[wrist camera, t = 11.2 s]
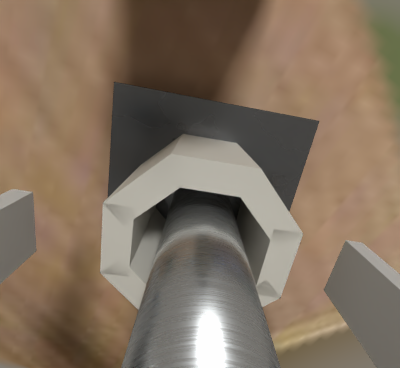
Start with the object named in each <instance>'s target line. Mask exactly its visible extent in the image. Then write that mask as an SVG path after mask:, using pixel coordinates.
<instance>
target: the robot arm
mask: <svg viewBox="0 0 400 368" xmlns="http://www.w3.org/2000/svg"><path fill="white" fill-rule="evenodd" d="M34 252H36V236H35V219H34V202H33V192H29V191H23V190H16V189H11V190H9V191H7V192H5V193H3V194H1V195H0V284H1V283H2V282H3V281H4V280H5V279H6V278H7V277H8V276H9V275H10V274H12V273H13V272H14V271H15V270H16V269H17V268H18V267H19V266H20V265H21V264H22V263H24V262H25V261H26V260H27V259H28V258H29V257H30V256H31V255H32V254H33V253H34ZM324 291H325V293H326V294H327V296H328V297H329V298H330V300H331V301H332V303H333V304H334V306H335V307H336V309H337V310H338V312H339V313H340V315H341V316H342V317H343V319H344V320H345V322H346V323H347V325H348V326H349V328H350V329H351V331H352V332H353V334H354V335H355V336H356V338H357V339H358V341H359V342H360V344H361V345H362V347H363V348H364V350H365V351H366V352H367V354H368V355H369V357H370V358H371V360H372V361H373V363H374V364H375V366H376V367H377V368H400V274H399V273H398V272H397V271H395V270H394V269H393V268H392V267H391V266H389V265H388V264H387V263H386V262H385V261H383V260H382V259H381V258H380V257H379V256H377V255H376V254H375V253H374V252H373V251H371V250H370V249H369V248H368V247H367V246H365V245H364V244H363V243H360V242H354V241H347V240H346V241H345V243H344V245H343V248H342V250H341V252H340V254H339V257H338V259H337V261H336V263H335V266H334V268H333V270H332V273H331V275H330V277H329V279H328V282H327V284H326V286H325V288H324Z"/></svg>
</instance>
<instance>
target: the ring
mask: <svg viewBox="0 0 400 368" xmlns="http://www.w3.org/2000/svg"><path fill="white" fill-rule="evenodd" d="M179 188H186V189H193V190H199V191H205V192H211V193H218V194H224V195H230V196H236V197H241V203H240V207H239V212H238V216H237V220H236V223H237V226H238V230H239V233H240V236H241V240H242V243H243V246H244V249H245V253H246V256H247V259H248V263H249V266H250V269H251V272H252V276H253V279H254V282H255V286H256V289H257V292H258V296H259V299H260V302H261V305H262V307H263V306H265V305H267V304H269V303H271V302H273V301H275V300H277V299H279V298H281V294H282V292H283V289H284V286H285V283H286V280H287V278H288V275H289V272H290V269H291V266H292V264H293V261H294V258H295V255H296V252H297V250H298V247H299V244H300V241H301V238H302V236H303V233H302V231H301V230H300V228H299V227H298V225H297V224H296V222H295V220H294V219H293V217H292V216H291V214H290V213H289V211H288V210H287V208H286V206H285V205H284V203H283V202H282V200H281V199H280V197H279V196H278V194H277V193H276V191H275V189H274V188H273V186H272V185H271V183H270V182H269V180H268V179H267V177H266V175H265V174H264V172H263V171H262V169H261V168H260V167H259V166H258V165H257V164H256V163H255V161H254V160H253V159H252V158H251V157H250V156H249V155H248V154H247V153H246V152H245V151H244V150H243V149H242V148H241V147H240V146H239V145H238V144H237V143H234V142H228V141H222V140H216V139H210V138H205V137H199V136H193V135H187V134H182V135H181V136H180V137H178V138H177V139H175V140H174V141H173V142H171V143H170V144H169V145H167V146H166V147H165V148H163V149H162V150H160V151H159V152H158V153H156V154H155V155H154V156H152V157H151V158H150V159H148V160H147V161H145V162H144V163H143V164H141V165H140V166H139V167H138V168H137V169H136V170H135V171H134V172H133V173H132V174H131V175H130V176H129V177H128V178H127V179H126V180H125V181H124V182H123V183H122V184H121V185H120V186H119V187H118V188H117V189H116V190H115V191H114V192H113V193H112V194H111V195H110V196H109V197H108V198H107V199H106V200H105V201H104V202H103V215H102V241H101V268H100V273H101V274H102V275H103V276H104V277H105V278H106V279H107V280H108V281H109V282H110V283H111V284H112V285H113V286H114V287H115V288H116V289H117V290H118V291H119V292H120V293H122V294H123V295H124V296H125V297H126V298H127V299H128V300H129V301H130V302H131V303H132V304H133V305H134V306H135V307H136V308H137V309H138V310H139V307H140V304H141V301H142V297H143V294H144V291H145V288H146V284H147V281H148V278H149V274H150V271H151V268H152V264H153V261H154V258H155V254H156V251H157V248H158V245H159V241H160V238H161V235H162V231H163V228H164V225H165V221H166V219H165V218H164V217H163V216H162V215H161V213H160V212H159V211H158V210H157V209H156V204H157V203H158V202H160V201H161V200H163V199H164V198H166V197H167V196H169V195H170V194H172V193H173V192H174V191H176V190H177V189H179Z"/></svg>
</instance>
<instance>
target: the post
mask: <svg viewBox="0 0 400 368" xmlns="http://www.w3.org/2000/svg"><path fill="white" fill-rule="evenodd" d="M318 124H319V121H316V120H311V119H306V118H300V117H295V116H290V115H285V114H280V113H274V112H269V111H264V110H259V109H253V108H248V107H243V106H238V105H232V104H227V103H222V102H217V101H211V100H206V99H201V98H196V97H190V96H185V95H180V94H175V93H170V92H164V91H159V90H154V89H149V88H143V87H138V86H133V85H128V84H122V83H117V82H114V93H113V111H112V130H111V148H110V166H109V184H108V197H109V196H110V195H111V194H112V193H113V192H114V191H115V190H116V189H117V188H118V187H119V186H120V185H121V184H122V183H123V182H124V181H125V180H126V179H127V178H128V177H129V176H130V175H131V174H132V173H133V172H134V171H135V170H136V169H137V168H138V167H139V166H140V165H141V164H143V163H144V162H145V161H147V160H148V159H150V158H151V157H152V156H154V155H155V154H156V153H158V152H159V151H160V150H162V149H163V148H165V147H166V146H167V145H169V144H170V143H171V142H173V141H174V140H175V139H177V138H178V137H180V136H181V135H182V134H187V135H193V136H199V137H205V138H210V139H216V140H222V141H228V142H234V143H237V144H238V145H239V146H240V147H241V148H242V149H243V150H244V151H245V152H246V153H247V154H248V155H249V156H250V157H251V158H252V159H253V160H254V161H255V163H256V164H257V165H258V166H259V167H260V168H261V169H262V171H263V172H264V174H265V175H266V177H267V179H268V180H269V182H270V183H271V185H272V186H273V188H274V189H275V191H276V193H277V194H278V196H279V197H280V199H281V200H282V202H283V203H284V205H285V206H286V208H287V210H288V211H290V208H291V205H292V202H293V199H294V196H295V193H296V190H297V187H298V184H299V181H300V178H301V175H302V172H303V169H304V166H305V163H306V160H307V157H308V154H309V151H310V148H311V145H312V142H313V139H314V136H315V133H316V130H317V127H318ZM240 203H241V197H236V196H230V195H224V194H218V193H211V192H205V191H199V190H193V189H186V188H179V189H177V190H176V191H174V192H173V193H172V194H170V195H169V196H167V197H166V198H164V199H163V200H161V201H160V202H158V203H157V204H156V209H157V210H158V211H159V212H160V213H161V215H162V216H163V217H164V218H165V219H166V221H165V225H164V228H163V231H162V235H161V238H160V241H159V245H158V248H157V251H156V254H155V258H154V261H153V264H152V268H151V271H150V274H149V278H148V281H147V284H146V288H145V291H144V294H143V297H142V301H141V304H140V307H139V311H138V314H137V317H136V321H135V324H134V327H133V331H132V334H131V337H130V341H129V344H128V347H127V350H126V354H125V357H124V360H123V364H122V367H121V368H280V365H279V361H278V358H277V355H276V351H275V348H274V345H273V342H272V338H271V335H270V332H269V328H268V325H267V322H266V319H265V315H264V312H263V309H262V305H261V302H260V299H259V296H258V292H257V289H256V286H255V282H254V279H253V276H252V272H251V269H250V266H249V263H248V259H247V256H246V253H245V249H244V246H243V243H242V240H241V236H240V233H239V230H238V226H237V223H236V220H237V216H238V212H239V207H240Z"/></svg>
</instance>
